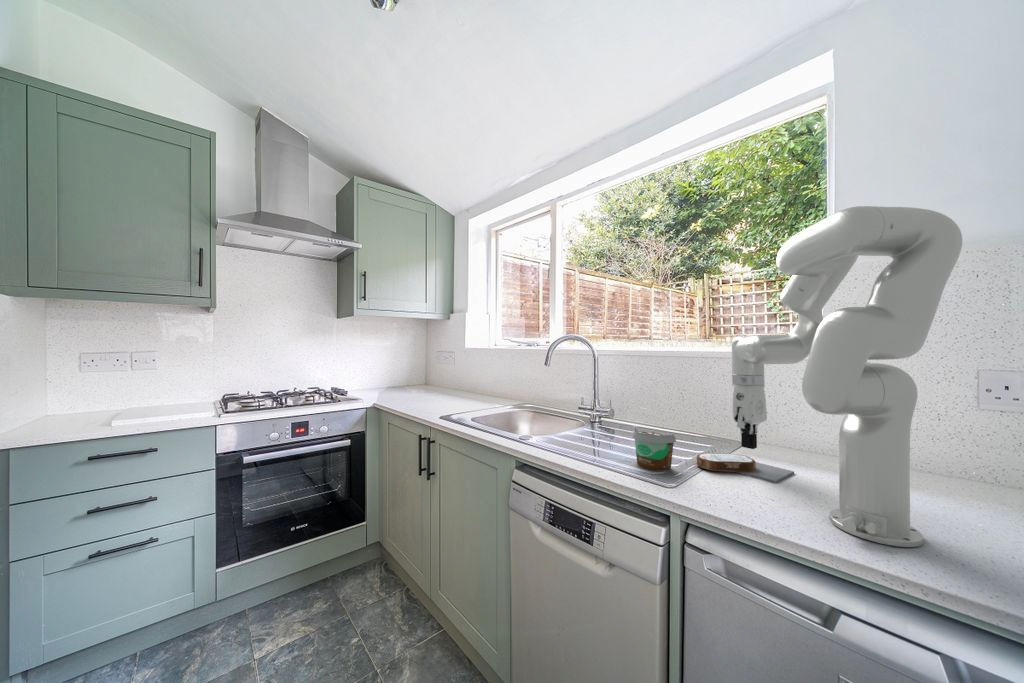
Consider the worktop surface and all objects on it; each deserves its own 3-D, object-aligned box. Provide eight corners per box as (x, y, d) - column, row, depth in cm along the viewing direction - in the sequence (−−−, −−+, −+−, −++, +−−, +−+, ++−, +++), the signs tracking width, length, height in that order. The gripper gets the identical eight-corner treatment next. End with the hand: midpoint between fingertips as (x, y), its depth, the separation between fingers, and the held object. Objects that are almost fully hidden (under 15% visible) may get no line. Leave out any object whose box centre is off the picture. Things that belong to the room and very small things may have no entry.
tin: (762, 472, 97) (745, 464, 105) (762, 460, 97) (745, 453, 106) (704, 470, 99) (692, 462, 107) (703, 459, 99) (691, 452, 107)
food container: (624, 465, 105) (624, 430, 105) (634, 460, 110) (633, 427, 110) (668, 475, 97) (668, 438, 97) (676, 469, 101) (676, 434, 101)
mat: (775, 483, 91) (775, 480, 91) (711, 465, 105) (711, 463, 105) (794, 473, 98) (794, 471, 98) (731, 458, 111) (731, 456, 111)
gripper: (750, 383, 93) (751, 455, 93) (775, 380, 101) (776, 446, 101) (720, 381, 99) (721, 448, 99) (745, 378, 107) (746, 440, 107)
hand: (749, 447), depth 100 cm, fingers closed
